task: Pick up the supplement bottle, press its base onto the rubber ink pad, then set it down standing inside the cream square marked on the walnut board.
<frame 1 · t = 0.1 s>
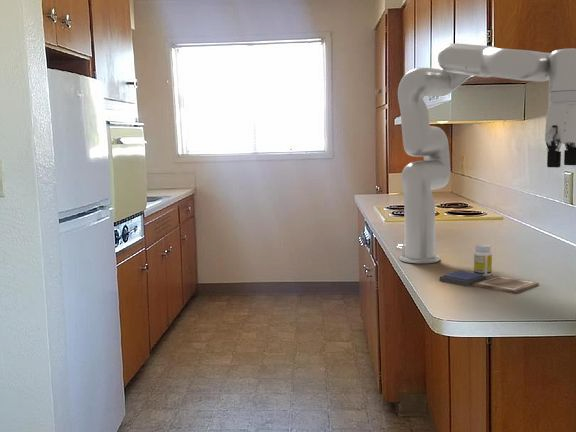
hand: (562, 166, 157), 31 cm above the countertop, tool pointing down, fingers open, 9 cm apart
marked board: (505, 285, 161), on the countertop
supplement bottle: (482, 275, 174), on the countertop
ink pad: (463, 280, 167), on the countertop
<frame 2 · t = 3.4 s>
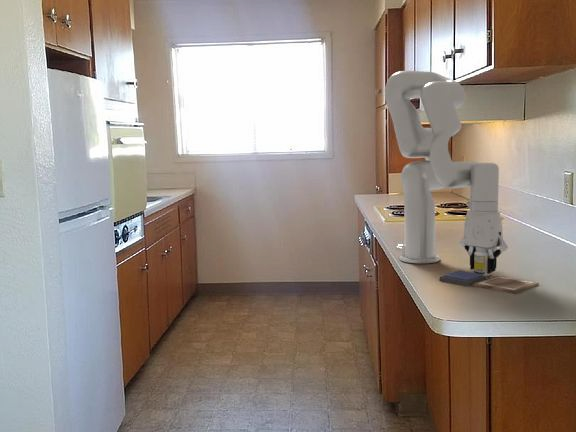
hand: (482, 269, 174), 1 cm above the countertop, tool pointing down, fingers closed on supplement bottle, 4 cm apart
supplement bottle: (482, 275, 174), on the countertop, touching gripper
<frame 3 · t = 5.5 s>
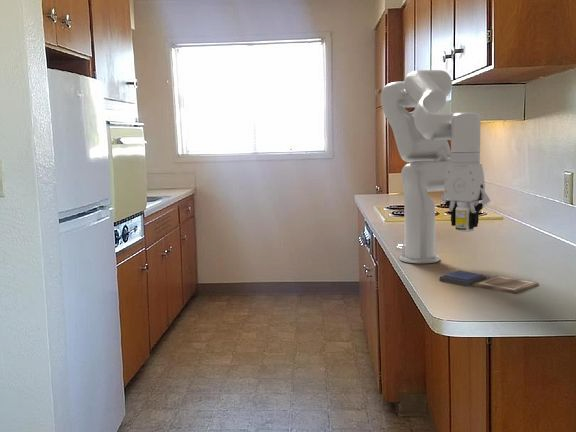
hand: (464, 225, 165), 15 cm above the countertop, tool pointing down, fingers closed on supplement bottle, 4 cm apart
supplement bottle: (464, 231, 166), point 14 cm above the countertop, touching gripper
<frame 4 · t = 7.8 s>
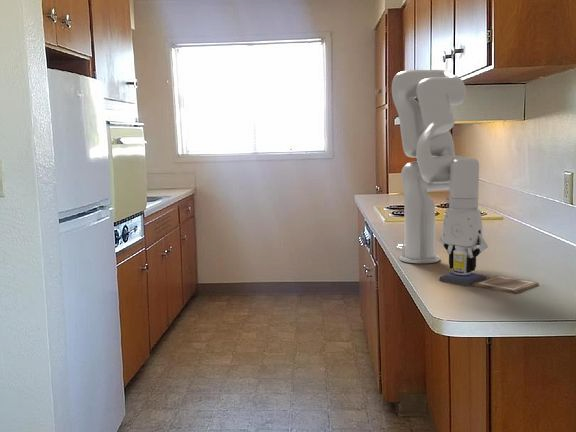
hand: (462, 268, 168), 3 cm above the countertop, tool pointing down, fingers closed on supplement bottle, 4 cm apart
supplement bottle: (461, 274, 168), point 2 cm above the countertop, touching gripper
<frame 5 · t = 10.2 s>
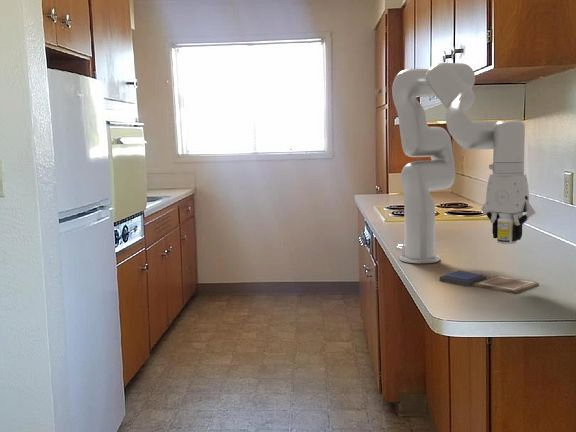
hand: (507, 238, 159), 13 cm above the countertop, tool pointing down, fingers closed on supplement bottle, 4 cm apart
supplement bottle: (506, 243, 160), point 11 cm above the countertop, touching gripper
when the fingers open (3 cm above the countertop, at t = 12.1 s): supplement bottle drops 1 cm, resting on marked board.
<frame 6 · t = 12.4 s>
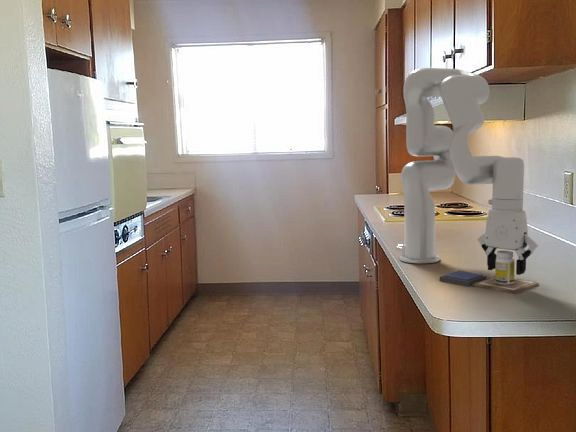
hand: (506, 271, 161), 4 cm above the countertop, tool pointing down, fingers open, 7 cm apart
supplement bottle: (504, 283, 161), resting on marked board
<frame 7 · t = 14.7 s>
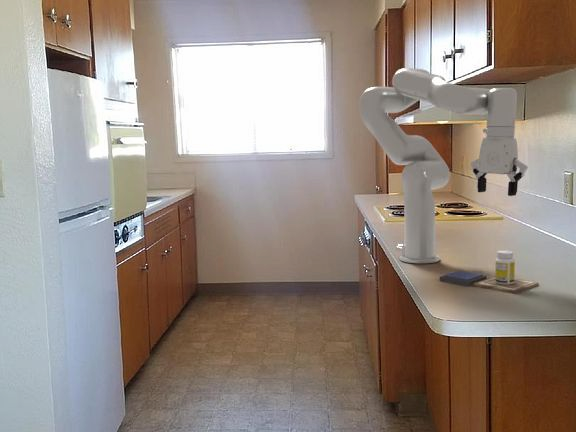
hand: (496, 193, 173), 23 cm above the countertop, tool pointing down, fingers open, 9 cm apart
nothing on the countertop moved.
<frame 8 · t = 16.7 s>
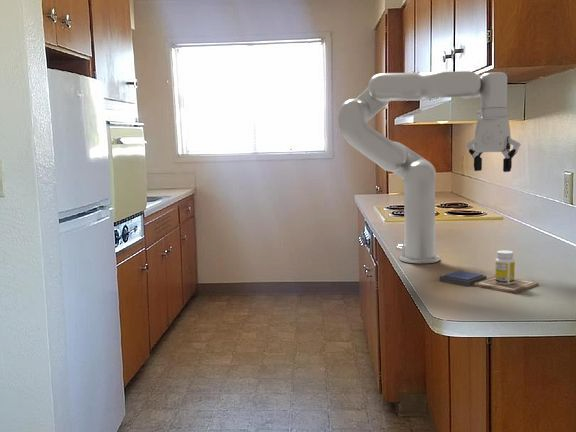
hand: (492, 171, 186), 28 cm above the countertop, tool pointing down, fingers open, 9 cm apart
nothing on the countertop moved.
at the end: supplement bottle inside the target area on the marked board (0.3 cm from its centre), point 0.4 cm above the marked board's base; supplement bottle tilted 0°; the gripper is holding nothing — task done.
